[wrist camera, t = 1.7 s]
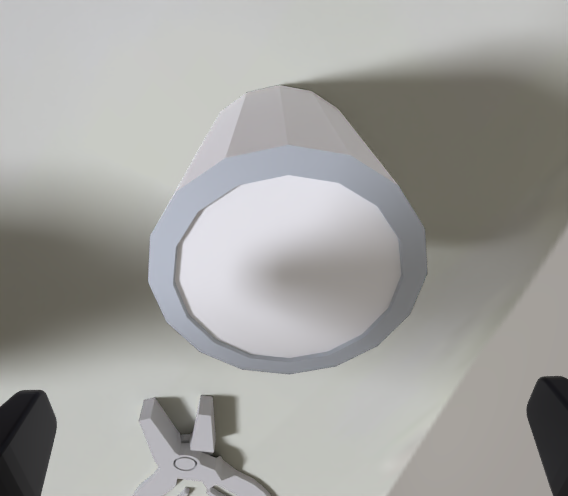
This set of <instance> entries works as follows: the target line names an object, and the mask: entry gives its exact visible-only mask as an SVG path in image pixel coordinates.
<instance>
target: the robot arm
mask: <svg viewBox="0 0 568 496" xmlns="http://www.w3.org/2000/svg"><path fill="white" fill-rule="evenodd" d="M527 418H528V421H529V424H530V427H531V430H532V433H533V436H534V439H535V442H536V446H537V449H538V452H539V455H540V458H541V461H542V464H543V467H544V470H545V473H546V476H547V479H548V482H549V485H550V488H551V491H552V493H553V496H568V379H567V378H564V377H562V376H546V377H541V378H539V379H538V381H537V382H536V385H535V387H534V390H533V392H532V394H531V397H530V399H529V401H528V404H527ZM56 428H57V421H56V417H55V414H54V412H53V409H52V407H51V404H50V402H49V399H48V397H47V395H46V393H45V392H44V391H43V390H22V391H19V392H17V393H16V394H14V395H13V396H12V397H11V398H10V399H9V400H7V401H6V402H5V403H4V404H3V405H2V406H1V407H0V496H41V492H42V488H43V484H44V480H45V476H46V472H47V467H48V463H49V459H50V455H51V451H52V447H53V442H54V438H55V434H56Z"/></svg>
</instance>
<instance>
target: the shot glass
mask: <svg viewBox="0 0 568 496" xmlns="http://www.w3.org/2000/svg"><path fill="white" fill-rule="evenodd" d="M426 276H427V257H426V239H425V228H424V226H423V224H422V223H421V221H420V220H419V218H418V216H417V215H416V213H415V211H414V210H413V208H412V207H411V205H410V203H409V202H408V200H407V198H406V197H405V195H404V193H403V192H402V190H401V189H400V187H399V185H398V184H397V183H396V182H395V180H394V179H393V178H392V177H391V175H390V174H389V173H388V171H387V170H386V169H385V168H384V166H383V165H382V164H381V163H380V161H379V160H378V159H377V158H376V156H375V155H374V154H373V152H372V151H371V150H370V149H369V147H368V146H367V145H366V144H365V142H364V141H363V140H362V138H361V137H360V136H359V135H358V133H357V132H356V131H355V130H354V128H353V127H352V126H351V125H350V123H349V122H348V121H347V119H346V118H345V117H344V116H343V114H342V113H341V112H340V111H339V109H338V108H336V107H335V106H333V105H332V104H330V103H329V102H327V101H326V100H324V99H323V98H321V97H320V96H318V95H317V94H315V93H314V92H312V91H310V90H304V89H299V88H293V87H288V86H282V85H277V86H272V87H268V88H263V89H259V90H254V91H250V92H246V93H245V94H244V95H242V96H241V97H239V98H238V99H237V100H235V101H234V102H232V103H231V104H230V105H228V106H227V107H226V108H224V109H223V110H221V111H220V113H219V115H218V117H217V118H216V120H215V122H214V123H213V125H212V127H211V129H210V130H209V132H208V134H207V135H206V137H205V139H204V141H203V142H202V144H201V146H200V148H199V150H198V151H197V153H196V155H195V157H194V158H193V160H192V162H191V164H190V166H189V167H188V169H187V171H186V173H185V175H184V176H183V178H182V180H181V182H180V183H179V185H178V187H177V189H176V191H175V192H174V194H173V196H172V198H171V200H170V201H169V203H168V205H167V207H166V208H165V210H164V212H163V214H162V216H161V217H160V219H159V221H158V223H157V225H156V226H155V228H154V230H153V232H152V233H151V235H150V249H149V271H148V283H149V285H150V287H151V290H152V292H153V294H154V296H155V298H156V300H157V303H158V305H159V307H160V309H161V311H162V313H163V316H164V318H165V320H166V322H167V323H168V324H169V325H170V326H171V327H173V328H174V329H175V330H176V331H177V332H178V333H179V334H180V335H182V336H183V337H184V338H185V339H186V340H187V341H188V342H189V343H190V344H192V345H193V346H194V347H195V348H196V349H197V350H198V351H199V352H201V353H204V354H206V355H209V356H211V357H213V358H216V359H218V360H221V361H223V362H225V363H228V364H230V365H233V366H235V367H238V368H240V369H242V370H252V371H261V372H271V373H281V374H294V373H300V372H306V371H312V370H317V369H323V368H329V367H335V366H337V365H340V364H342V363H344V362H346V361H348V360H350V359H352V358H354V357H356V356H358V355H360V354H362V353H364V352H366V351H368V350H370V349H372V348H374V347H376V346H378V345H379V344H380V343H381V342H382V341H383V340H384V339H385V338H386V337H387V336H388V335H389V334H390V333H391V332H392V331H393V330H394V329H395V328H396V327H397V326H398V325H399V324H400V323H401V322H403V321H404V320H405V319H406V318H407V317H408V316H409V315H410V313H411V311H412V308H413V306H414V304H415V301H416V299H417V297H418V294H419V292H420V290H421V287H422V285H423V283H424V280H425V278H426Z"/></svg>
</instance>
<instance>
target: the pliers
mask: <svg viewBox="0 0 568 496" xmlns="http://www.w3.org/2000/svg"><path fill="white" fill-rule="evenodd" d="M139 423H140V425H141V428H142V430H143V433H144V436H145V438H146V441H147V443H148V446H149V448H150V451H151V453H152V456H153V458H154V461H155V462H156V464H157V465H158V466H159V467H158V468H157V470H156V471H155V472H154V474H152V475H151V476H150V477H149V478H147V479H146V480H145V481H143V482H142V483H141V484H140V485H139V486H138V488H137V489H136V490H135V492H134V493H133V496H164V495H165V494H166V493H167V492H169V491H170V490H171V489H172V488H174V487H175V486H176V482H177V479H185V480H194V481H202V482H203V484H204V485H205V487H206V488H207V492H206V493H207V494H208V495H210V496H226V495H224V494H222V493H220V492H219V491H217V490H216V489H214V488H213V486H214V485H216V484H217V485H219V486H221V487H223V488H224V489H226V490H228V491H230V492H232V493H234V494H236V495H238V496H271V494H270V493H269V492H268V491H267V490H266V489H265V488H264V487H263V486H262V485H261V484H260V483H258V482H257V481H256V480H255V479H253V478H251V477H249V476H247V475H245V474H243V473H242V472H240V471H238V470H236V469H234V468H233V467H232V466H230V465H229V464H228V463H227V462H225V461H224V460H223V459H222V457H221V456H219V457H217V458H215V457H212V454H213V453H214V448H215V441H216V433H215V419H214V406H213V397H212V396H204V395H201V397H200V401H199V406H198V410H197V415H196V420H195V424H194V429H193V431H192V433H191V434H183V435H180V432H178V430H177V429H176V427H175V426H174V424H173V423H172V421H171V420H170V419H169V417H168V416H167V414H166V413H165V411H164V410H163V408H162V407H161V405H160V404H159V402H158V401H157V399H156V398H155V397H154V398H150V399H146V400H144V402H143V406H142V410H141V414H140V418H139ZM188 494H189V488H187V487H185V488H184V489H183V491H182V492H181V493H180V494H179V495H178V496H187V495H188Z"/></svg>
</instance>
